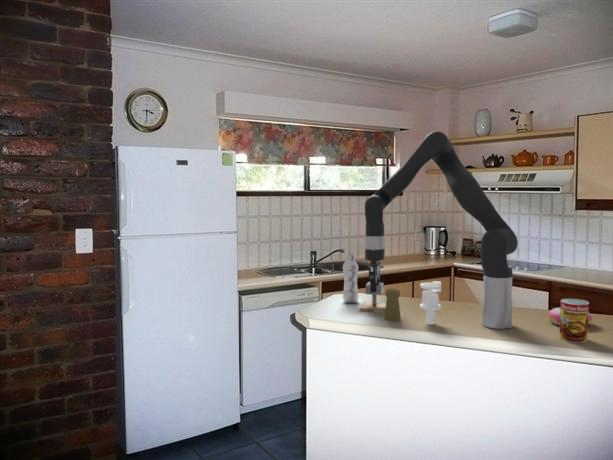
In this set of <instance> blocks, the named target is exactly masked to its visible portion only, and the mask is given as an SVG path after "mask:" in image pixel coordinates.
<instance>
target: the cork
mask: <svg viewBox="0 0 613 460" xmlns="http://www.w3.org/2000/svg"><path fill="white" fill-rule="evenodd" d="M384 293H385V297H386V308H385V313H384V316H383V319H384V320H385V321H388V322H399V321H402V317H401V315H402V314H401V308H400V302H399V298H400V297H401V292H400V290H399V289H397V288H393V287H392V288H388V289H386V290H385V292H384Z"/></svg>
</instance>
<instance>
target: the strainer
mask: <svg viewBox="0 0 613 460" xmlns="http://www.w3.org/2000/svg"><path fill="white" fill-rule="evenodd" d="M419 287H420V288H421V289H423V291H421V292H422V293H421V295H422V296H421V297H422V299H421V303H420V304H419V309H421V310H424V311H425V324H426V325H429V326H432V325H433V326H434V325H435V323H436V321H435V320H436V319H435V318H436V316H435V315H436V312H435V311H439V310H441V309H442V305H441V304H440V303H439V301H440V299H439V298H440V293H441V292H442V281H438V280H437V281H436V280H432V282H431V281H430V282H428V281H427V282H421V283H420V284H419Z"/></svg>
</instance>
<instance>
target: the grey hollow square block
mask: <svg viewBox="0 0 613 460" xmlns="http://www.w3.org/2000/svg"><path fill="white" fill-rule="evenodd" d="M384 285H385V284H384V282H379V283H377V282H376V292H370V282H369V281H367V283H366V284H365V295H372V294H375V295H378V296H381V295H382V294H383V293H384Z"/></svg>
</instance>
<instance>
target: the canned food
mask: <svg viewBox="0 0 613 460" xmlns="http://www.w3.org/2000/svg"><path fill="white" fill-rule="evenodd" d="M559 308H560V326H559V329H558V330H559V333H558V336H559V337H558V338H559V339H560V340H561V341H564V342H568V343H575V344H583V343H587V342H588V337H589V336H588V335H589V325H588V313H590V312H589V308H590V302H589V301H587V300H584V299H579V298H562V299H560V305H559Z"/></svg>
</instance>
